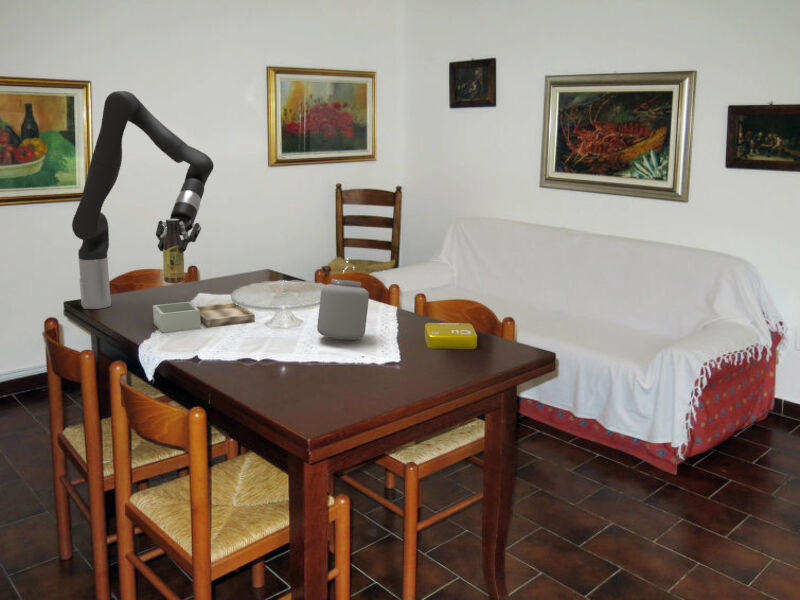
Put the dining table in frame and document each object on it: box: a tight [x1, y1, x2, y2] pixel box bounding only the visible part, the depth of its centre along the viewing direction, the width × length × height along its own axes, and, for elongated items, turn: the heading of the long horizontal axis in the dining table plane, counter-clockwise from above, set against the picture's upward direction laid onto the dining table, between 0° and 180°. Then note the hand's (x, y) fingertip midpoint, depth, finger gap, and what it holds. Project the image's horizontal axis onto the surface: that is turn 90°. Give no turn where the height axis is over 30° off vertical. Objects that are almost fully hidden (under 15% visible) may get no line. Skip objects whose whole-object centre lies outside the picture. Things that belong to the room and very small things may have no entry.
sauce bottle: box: [162, 218, 185, 284], centre depth 240 cm, size 6×6×20 cm
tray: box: [196, 302, 256, 328], centre depth 256 cm, size 16×18×2 cm
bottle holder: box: [152, 301, 202, 334], centre depth 245 cm, size 12×12×6 cm
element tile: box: [424, 322, 478, 350], centre depth 236 cm, size 15×15×5 cm
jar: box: [316, 258, 370, 340], centre depth 234 cm, size 19×15×25 cm
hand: (170, 250), depth 238 cm, fingers closed on sauce bottle, 6 cm apart
